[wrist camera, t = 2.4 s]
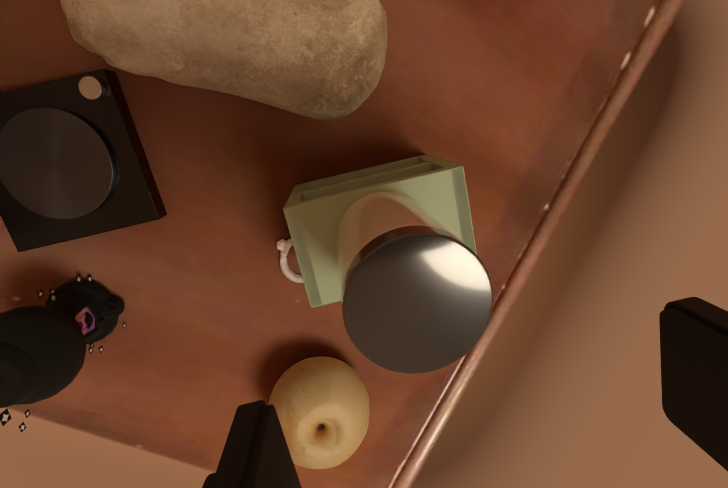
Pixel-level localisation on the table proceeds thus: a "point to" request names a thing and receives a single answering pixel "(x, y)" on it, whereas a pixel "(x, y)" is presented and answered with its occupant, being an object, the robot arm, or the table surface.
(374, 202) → the jar
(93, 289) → the gumball machine
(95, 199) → the hot plate
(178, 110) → the table surface
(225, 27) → the sculpture
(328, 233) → the green box
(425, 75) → the table surface
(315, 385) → the apple
